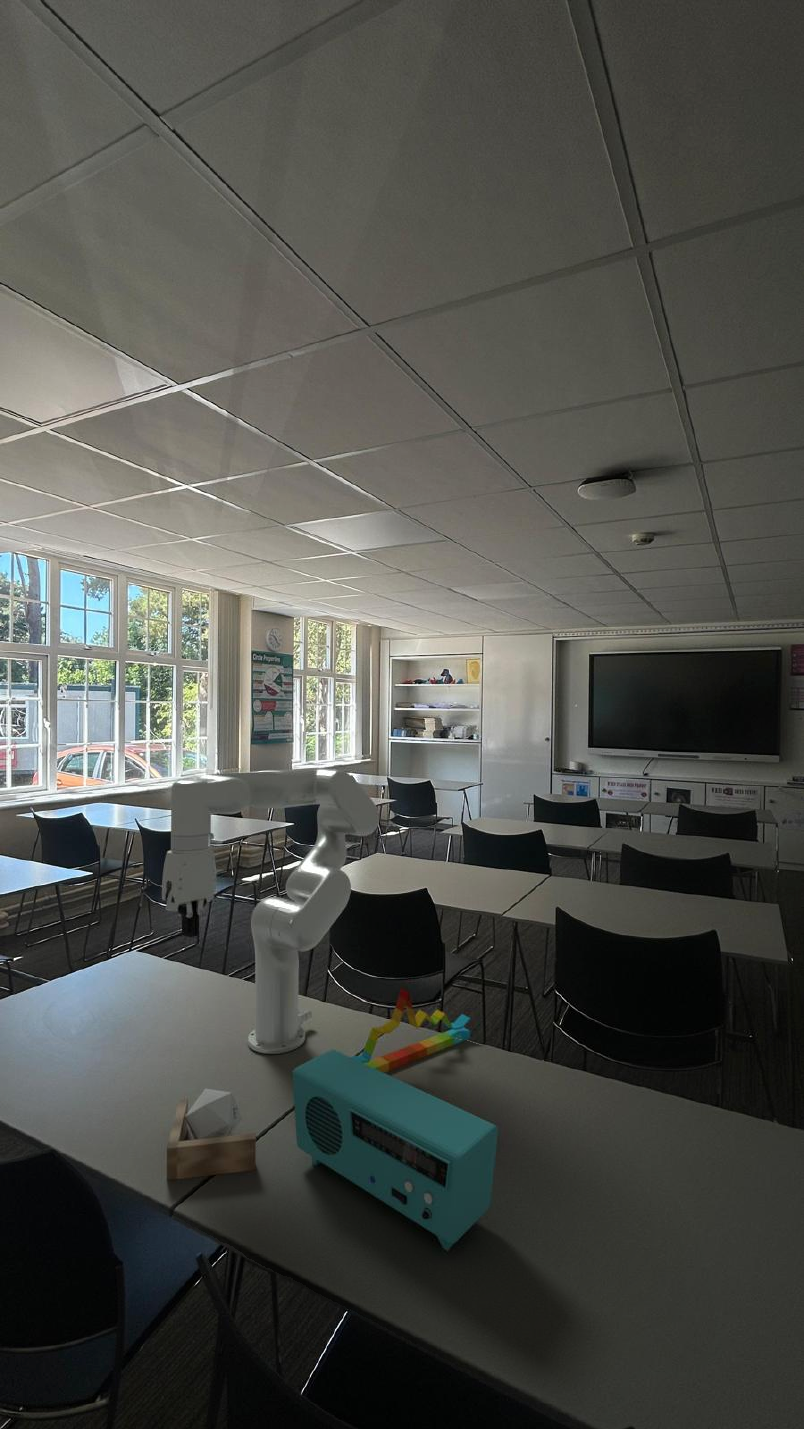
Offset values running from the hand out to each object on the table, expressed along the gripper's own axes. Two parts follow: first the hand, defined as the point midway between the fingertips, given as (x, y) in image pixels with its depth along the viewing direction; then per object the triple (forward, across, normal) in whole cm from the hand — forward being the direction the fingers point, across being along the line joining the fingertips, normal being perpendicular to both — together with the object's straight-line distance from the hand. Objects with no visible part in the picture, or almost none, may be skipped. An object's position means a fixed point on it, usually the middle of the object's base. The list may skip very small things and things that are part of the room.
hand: (190, 935), depth 133 cm
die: (+29, +9, +18) cm, 36 cm away
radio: (+29, +3, +50) cm, 58 cm away
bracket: (+29, +15, +20) cm, 38 cm away
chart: (+30, -34, +31) cm, 54 cm away
